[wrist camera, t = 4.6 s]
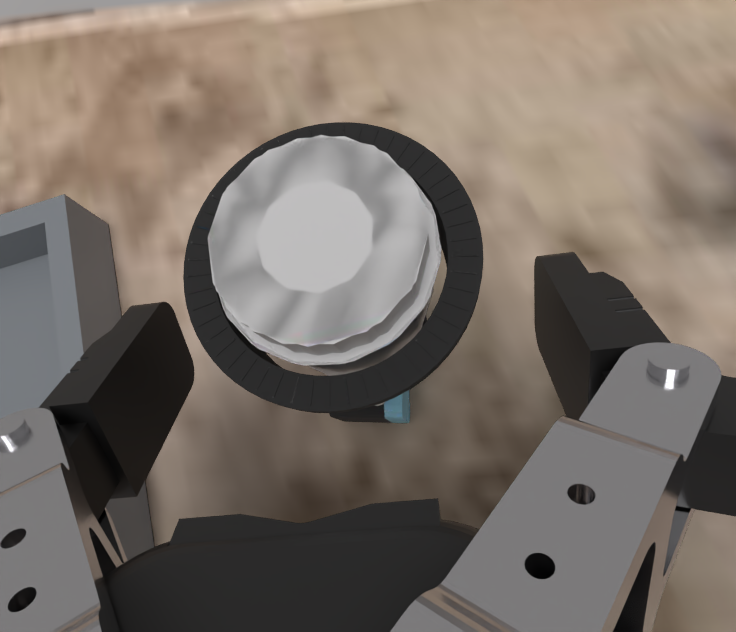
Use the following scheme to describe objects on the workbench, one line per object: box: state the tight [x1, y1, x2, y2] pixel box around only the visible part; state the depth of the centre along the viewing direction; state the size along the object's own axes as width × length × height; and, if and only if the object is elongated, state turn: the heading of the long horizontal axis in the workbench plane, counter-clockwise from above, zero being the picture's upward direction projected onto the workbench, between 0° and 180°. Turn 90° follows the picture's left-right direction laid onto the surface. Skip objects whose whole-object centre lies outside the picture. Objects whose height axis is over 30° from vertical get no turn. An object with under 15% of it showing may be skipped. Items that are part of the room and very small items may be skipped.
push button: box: [183, 123, 483, 423], centre depth 14 cm, size 7×5×10 cm
